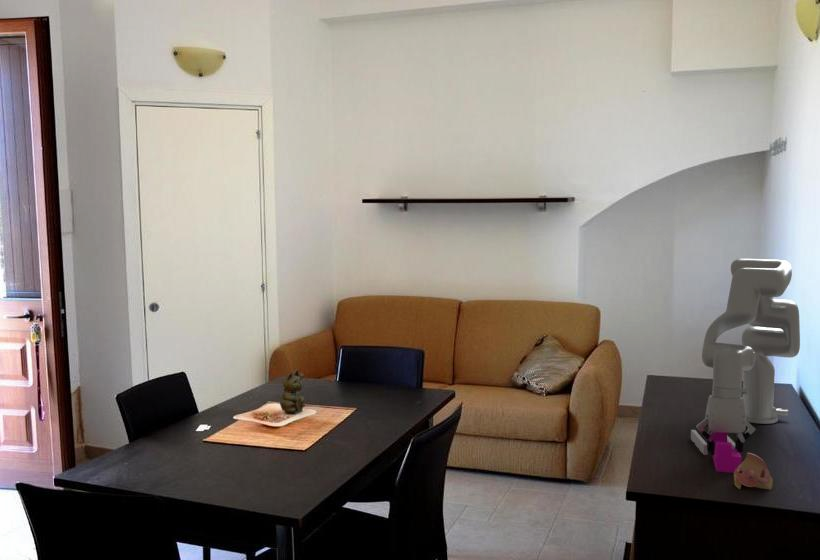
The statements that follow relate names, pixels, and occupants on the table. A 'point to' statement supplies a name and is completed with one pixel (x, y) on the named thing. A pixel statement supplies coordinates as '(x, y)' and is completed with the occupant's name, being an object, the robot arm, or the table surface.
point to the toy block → (725, 454)
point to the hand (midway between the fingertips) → (724, 453)
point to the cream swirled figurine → (753, 473)
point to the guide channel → (702, 444)
